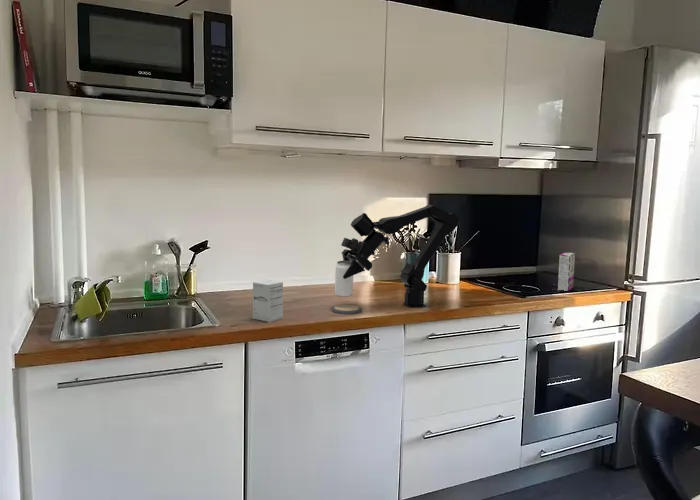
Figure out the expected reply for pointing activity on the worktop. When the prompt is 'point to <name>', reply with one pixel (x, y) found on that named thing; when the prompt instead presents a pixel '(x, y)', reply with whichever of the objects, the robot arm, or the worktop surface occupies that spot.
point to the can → (343, 280)
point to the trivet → (346, 309)
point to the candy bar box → (566, 271)
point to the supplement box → (267, 300)
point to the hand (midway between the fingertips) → (340, 276)
